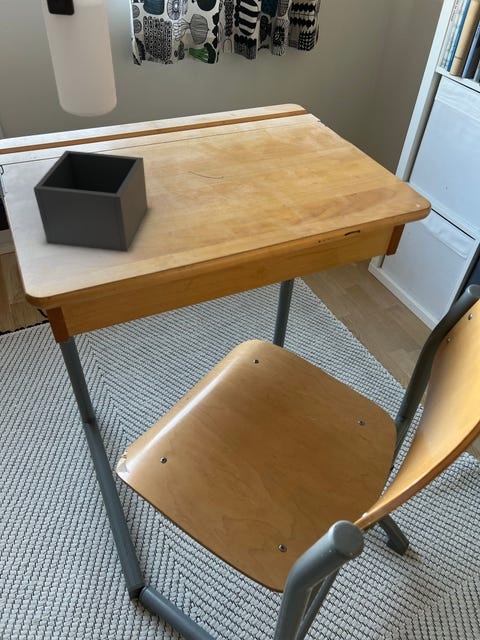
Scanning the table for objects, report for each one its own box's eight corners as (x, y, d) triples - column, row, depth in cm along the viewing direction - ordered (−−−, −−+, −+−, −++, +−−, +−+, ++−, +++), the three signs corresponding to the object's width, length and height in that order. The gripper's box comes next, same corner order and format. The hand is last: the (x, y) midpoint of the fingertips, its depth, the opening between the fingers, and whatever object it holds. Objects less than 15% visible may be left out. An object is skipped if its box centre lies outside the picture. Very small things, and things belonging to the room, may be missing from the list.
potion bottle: (122, 100, 81) (107, -38, 69) (111, 120, 75) (93, -27, 62) (69, 97, 81) (45, -42, 68) (54, 117, 74) (25, -31, 62)
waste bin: (47, 245, 79) (33, 188, 73) (76, 204, 88) (65, 150, 82) (127, 254, 78) (120, 196, 72) (148, 211, 88) (143, 157, 81)
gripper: (43, -174, 63) (69, -9, 75) (-24, -180, 50) (19, 20, 62) (103, -170, 63) (119, -5, 75) (50, -175, 50) (80, 24, 62)
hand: (74, 5), depth 68 cm, fingers closed on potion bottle, 8 cm apart
